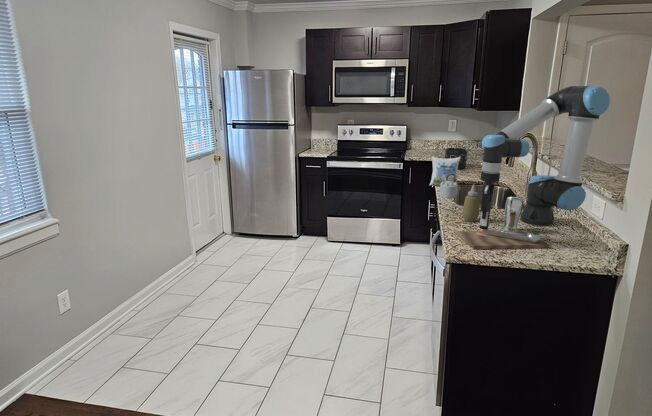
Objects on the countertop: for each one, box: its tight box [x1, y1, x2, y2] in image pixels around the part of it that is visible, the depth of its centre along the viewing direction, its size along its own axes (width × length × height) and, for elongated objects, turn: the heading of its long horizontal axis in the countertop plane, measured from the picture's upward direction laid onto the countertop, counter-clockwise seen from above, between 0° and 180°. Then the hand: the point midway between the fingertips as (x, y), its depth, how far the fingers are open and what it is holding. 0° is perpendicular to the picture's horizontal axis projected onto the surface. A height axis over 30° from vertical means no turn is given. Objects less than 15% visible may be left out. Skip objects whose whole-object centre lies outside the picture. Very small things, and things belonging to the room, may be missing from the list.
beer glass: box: [503, 196, 524, 231], centre depth 193 cm, size 7×7×15 cm
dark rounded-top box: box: [444, 147, 469, 171], centre depth 345 cm, size 18×18×16 cm
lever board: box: [456, 229, 550, 250], centre depth 181 cm, size 32×20×2 cm, turn 95°
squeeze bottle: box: [462, 184, 481, 223], centre depth 206 cm, size 8×8×18 cm
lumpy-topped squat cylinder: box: [439, 181, 459, 199], centre depth 255 cm, size 10×13×9 cm
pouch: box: [428, 156, 461, 186], centre depth 279 cm, size 8×19×20 cm, turn 86°
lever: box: [478, 201, 542, 243], centre depth 178 cm, size 24×5×14 cm, turn 59°
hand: (484, 224), depth 184 cm, fingers closed on lever, 4 cm apart
